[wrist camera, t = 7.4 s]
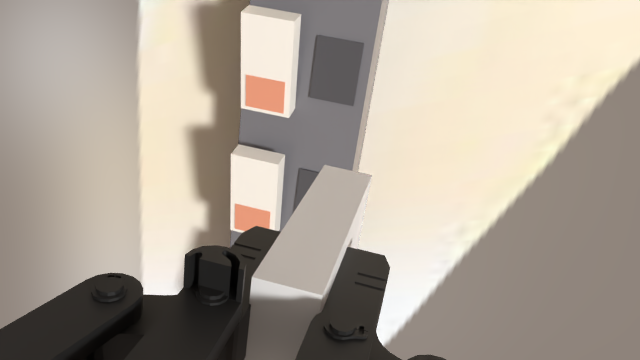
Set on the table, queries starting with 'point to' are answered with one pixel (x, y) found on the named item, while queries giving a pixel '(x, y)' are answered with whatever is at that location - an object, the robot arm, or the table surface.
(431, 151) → the table surface
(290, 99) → the block
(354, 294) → the robot arm
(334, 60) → the strip
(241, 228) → the block
